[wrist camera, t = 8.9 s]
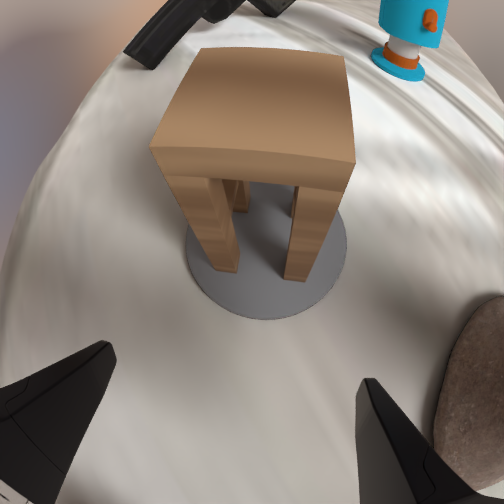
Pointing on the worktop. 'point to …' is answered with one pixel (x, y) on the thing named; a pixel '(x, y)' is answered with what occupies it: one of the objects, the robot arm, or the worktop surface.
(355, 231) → the worktop surface
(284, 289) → the mat
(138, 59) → the handgun
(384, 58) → the security camera
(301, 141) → the stool
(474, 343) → the sculpture
